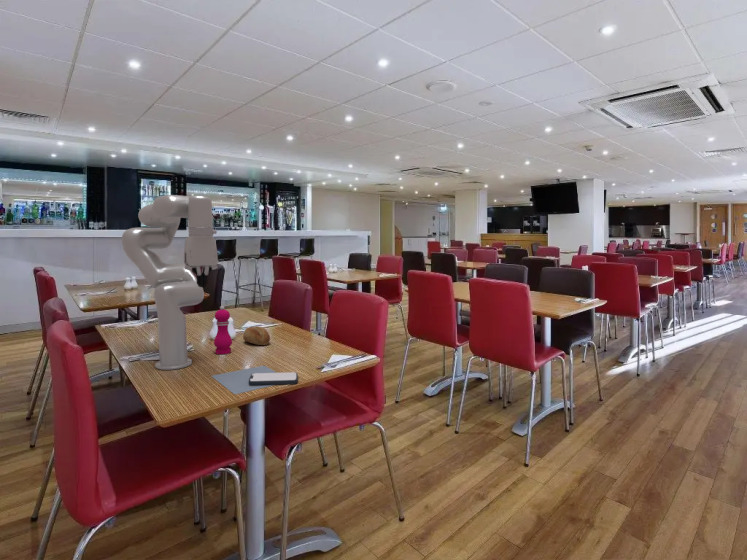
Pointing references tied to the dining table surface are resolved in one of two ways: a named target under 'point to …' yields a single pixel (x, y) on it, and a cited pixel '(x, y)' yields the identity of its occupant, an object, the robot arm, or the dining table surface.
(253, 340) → the bread roll
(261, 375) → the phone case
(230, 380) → the slate mat
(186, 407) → the dining table surface
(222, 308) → the pepper mill
